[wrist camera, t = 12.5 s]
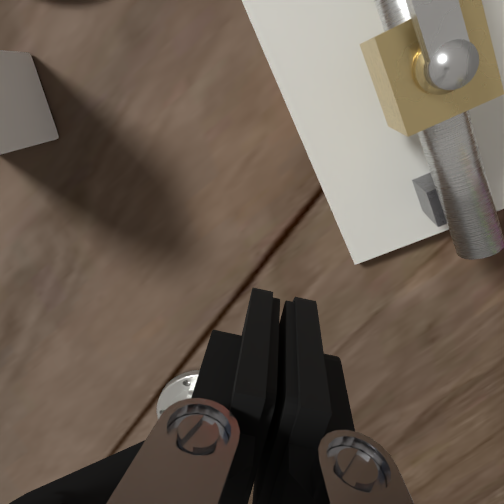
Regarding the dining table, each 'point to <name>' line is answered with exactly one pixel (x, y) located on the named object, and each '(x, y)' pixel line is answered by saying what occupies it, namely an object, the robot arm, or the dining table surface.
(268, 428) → the robot arm
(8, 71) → the milk carton
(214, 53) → the dining table surface
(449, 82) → the valve lever
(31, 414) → the dining table surface
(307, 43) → the valve board
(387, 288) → the dining table surface
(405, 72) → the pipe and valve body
